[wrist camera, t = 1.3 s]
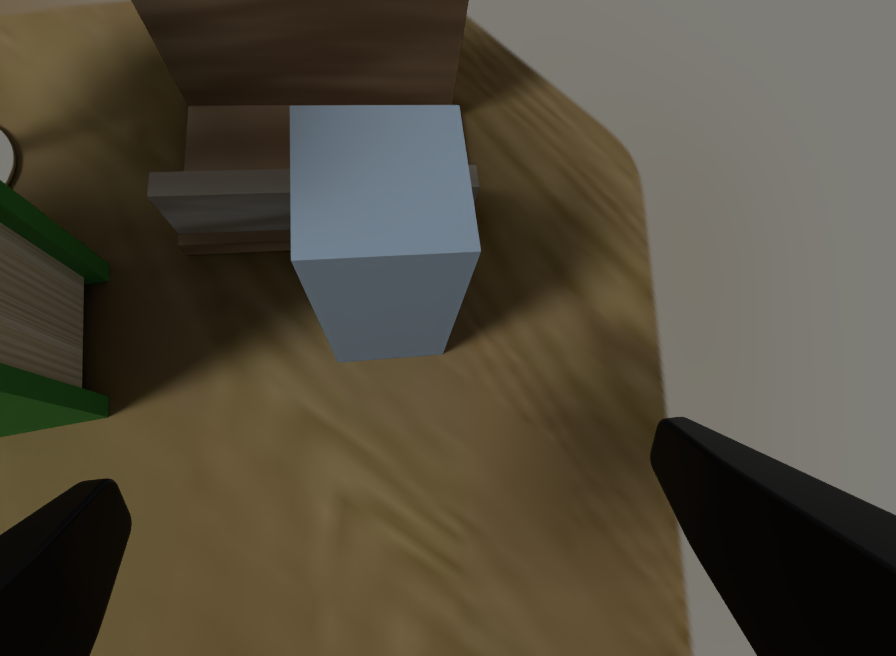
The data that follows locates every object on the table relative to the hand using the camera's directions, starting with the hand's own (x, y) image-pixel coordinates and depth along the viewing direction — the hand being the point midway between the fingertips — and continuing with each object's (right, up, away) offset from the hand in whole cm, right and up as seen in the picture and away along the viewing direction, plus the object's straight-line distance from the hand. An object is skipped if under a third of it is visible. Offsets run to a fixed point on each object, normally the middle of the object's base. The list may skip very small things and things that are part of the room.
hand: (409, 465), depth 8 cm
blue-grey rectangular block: (-2, +3, +15) cm, 16 cm away
